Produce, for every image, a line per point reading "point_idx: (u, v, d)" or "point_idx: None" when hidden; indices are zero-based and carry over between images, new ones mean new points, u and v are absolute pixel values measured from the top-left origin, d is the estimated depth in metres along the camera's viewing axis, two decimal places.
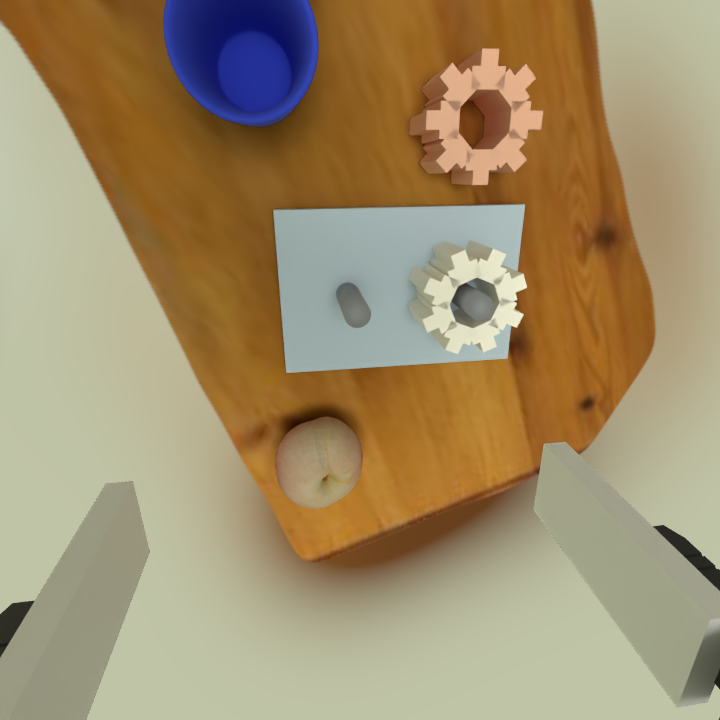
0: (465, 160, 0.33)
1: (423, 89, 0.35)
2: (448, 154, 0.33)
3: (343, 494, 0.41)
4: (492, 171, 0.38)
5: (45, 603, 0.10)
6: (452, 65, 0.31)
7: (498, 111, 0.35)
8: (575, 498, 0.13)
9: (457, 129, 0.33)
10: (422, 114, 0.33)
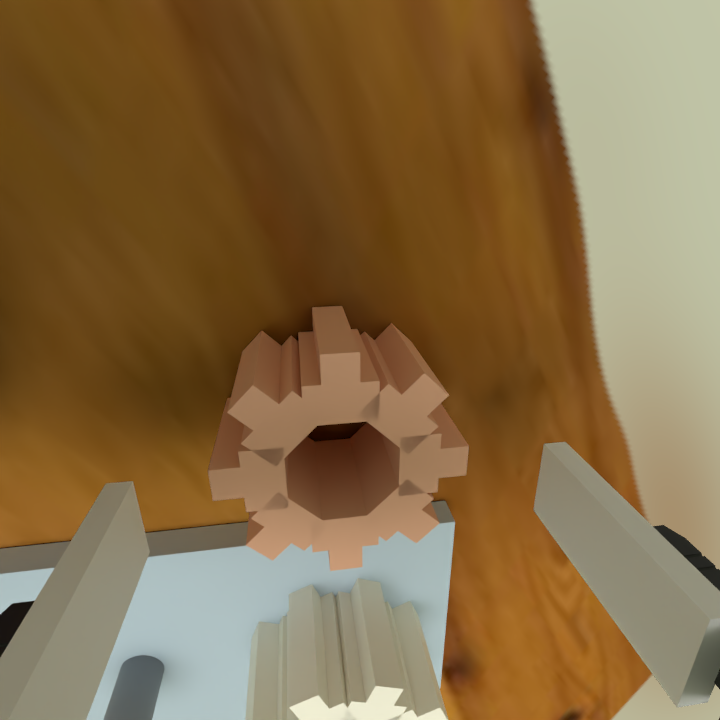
0: (310, 538, 0.16)
1: (243, 357, 0.18)
2: (270, 533, 0.16)
3: None
4: None
5: (45, 603, 0.10)
6: (253, 390, 0.14)
7: None
8: (575, 498, 0.13)
9: (284, 493, 0.15)
10: None
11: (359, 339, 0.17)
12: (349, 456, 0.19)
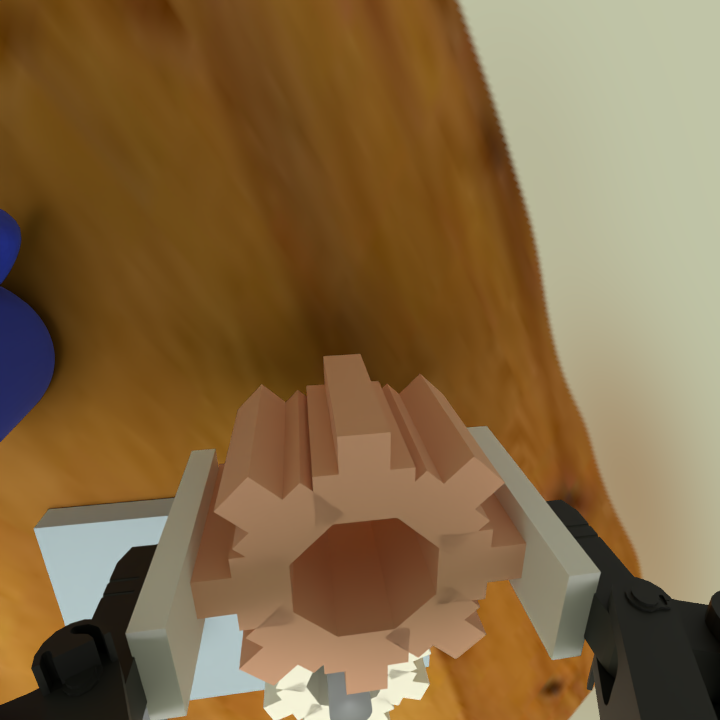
0: (321, 657, 0.13)
1: (238, 418, 0.15)
2: (271, 654, 0.12)
3: None
4: None
5: (169, 543, 0.11)
6: (248, 482, 0.10)
7: None
8: None
9: (289, 606, 0.12)
10: (198, 552, 0.12)
11: (382, 397, 0.14)
12: (368, 535, 0.16)
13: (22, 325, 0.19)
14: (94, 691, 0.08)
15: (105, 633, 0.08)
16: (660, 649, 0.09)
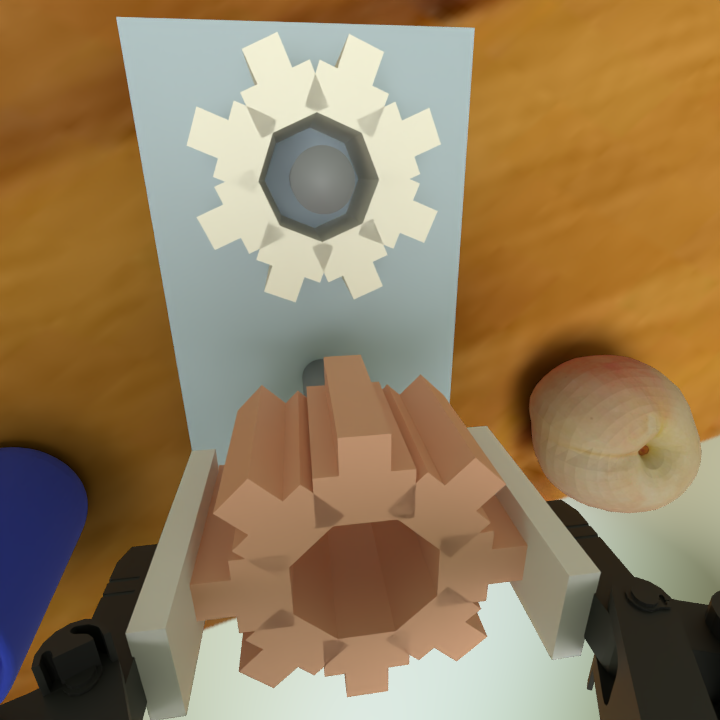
0: (321, 660, 0.12)
1: (238, 419, 0.14)
2: (270, 657, 0.12)
3: (687, 422, 0.22)
4: None
5: (169, 543, 0.11)
6: (248, 484, 0.10)
7: None
8: None
9: (289, 608, 0.12)
10: None
11: (383, 398, 0.14)
12: (368, 537, 0.16)
13: None
14: (94, 691, 0.08)
15: (105, 633, 0.08)
16: (660, 649, 0.09)
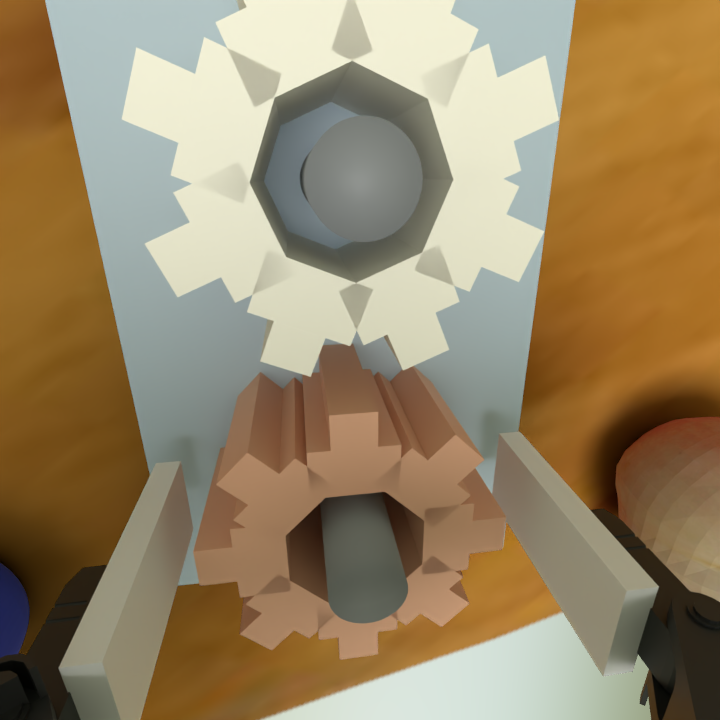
0: (316, 624, 0.14)
1: None
2: (268, 620, 0.13)
3: None
4: None
5: (118, 565, 0.11)
6: (248, 458, 0.11)
7: None
8: (523, 484, 0.14)
9: (285, 575, 0.13)
10: (201, 525, 0.13)
11: (373, 383, 0.15)
12: None
13: None
14: None
15: (31, 667, 0.08)
16: None
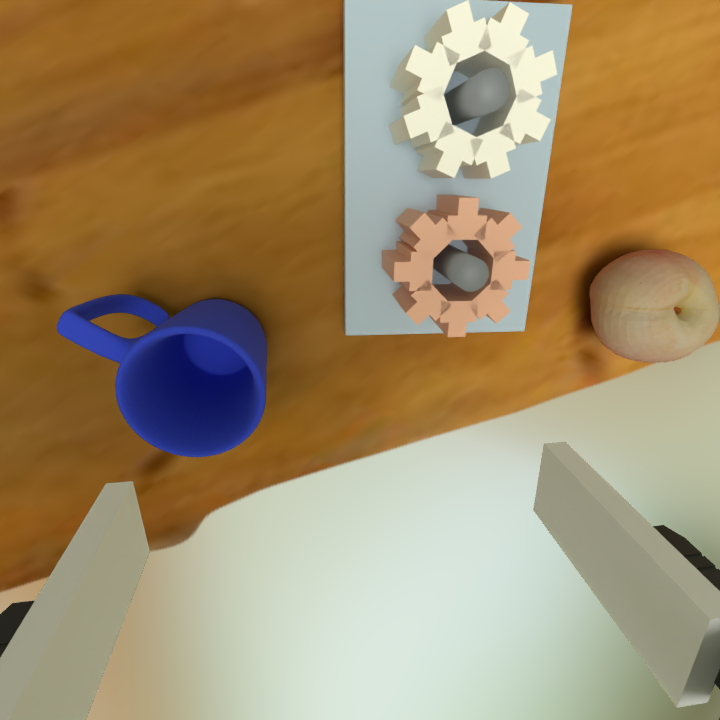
0: (439, 312, 0.29)
1: (397, 221, 0.31)
2: (419, 306, 0.29)
3: (710, 289, 0.30)
4: None
5: (45, 603, 0.10)
6: (424, 215, 0.27)
7: (480, 252, 0.30)
8: (575, 498, 0.13)
9: (430, 281, 0.28)
10: (391, 261, 0.29)
11: None
12: (452, 288, 0.32)
13: (189, 306, 0.31)
14: None
15: None
16: None
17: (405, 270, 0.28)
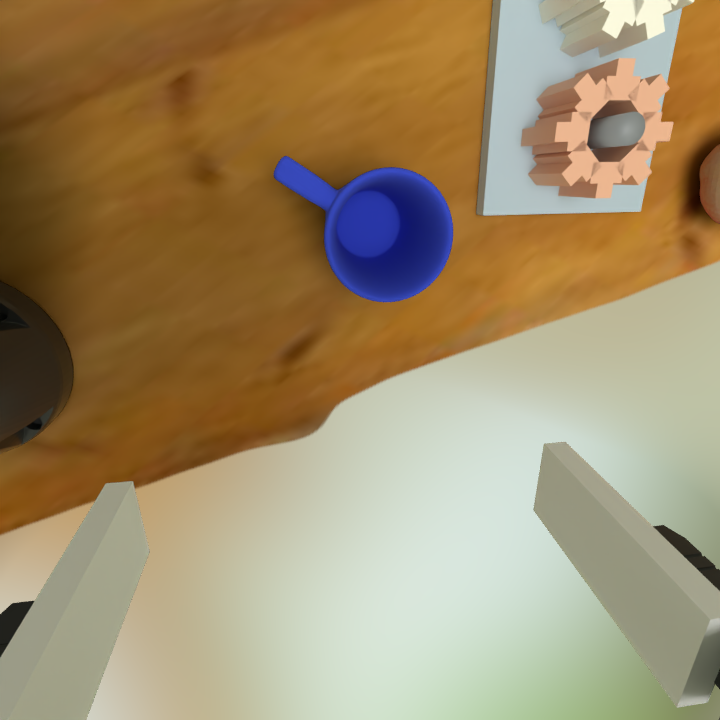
0: (590, 173, 0.32)
1: (540, 99, 0.34)
2: (574, 167, 0.32)
3: None
4: None
5: (45, 603, 0.10)
6: (587, 75, 0.30)
7: None
8: (575, 498, 0.13)
9: (585, 141, 0.31)
10: (548, 125, 0.32)
11: None
12: None
13: None
14: None
15: None
16: None
17: (565, 130, 0.31)
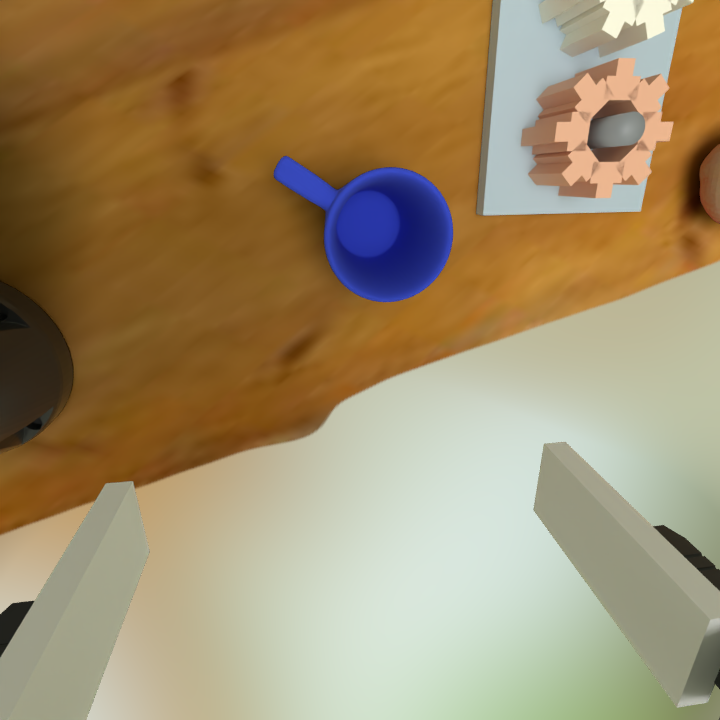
0: (590, 173, 0.32)
1: (540, 99, 0.34)
2: (574, 167, 0.32)
3: None
4: None
5: (45, 603, 0.10)
6: (587, 75, 0.30)
7: None
8: (575, 498, 0.13)
9: (585, 141, 0.31)
10: (548, 125, 0.32)
11: None
12: None
13: None
14: None
15: None
16: None
17: (565, 130, 0.31)
